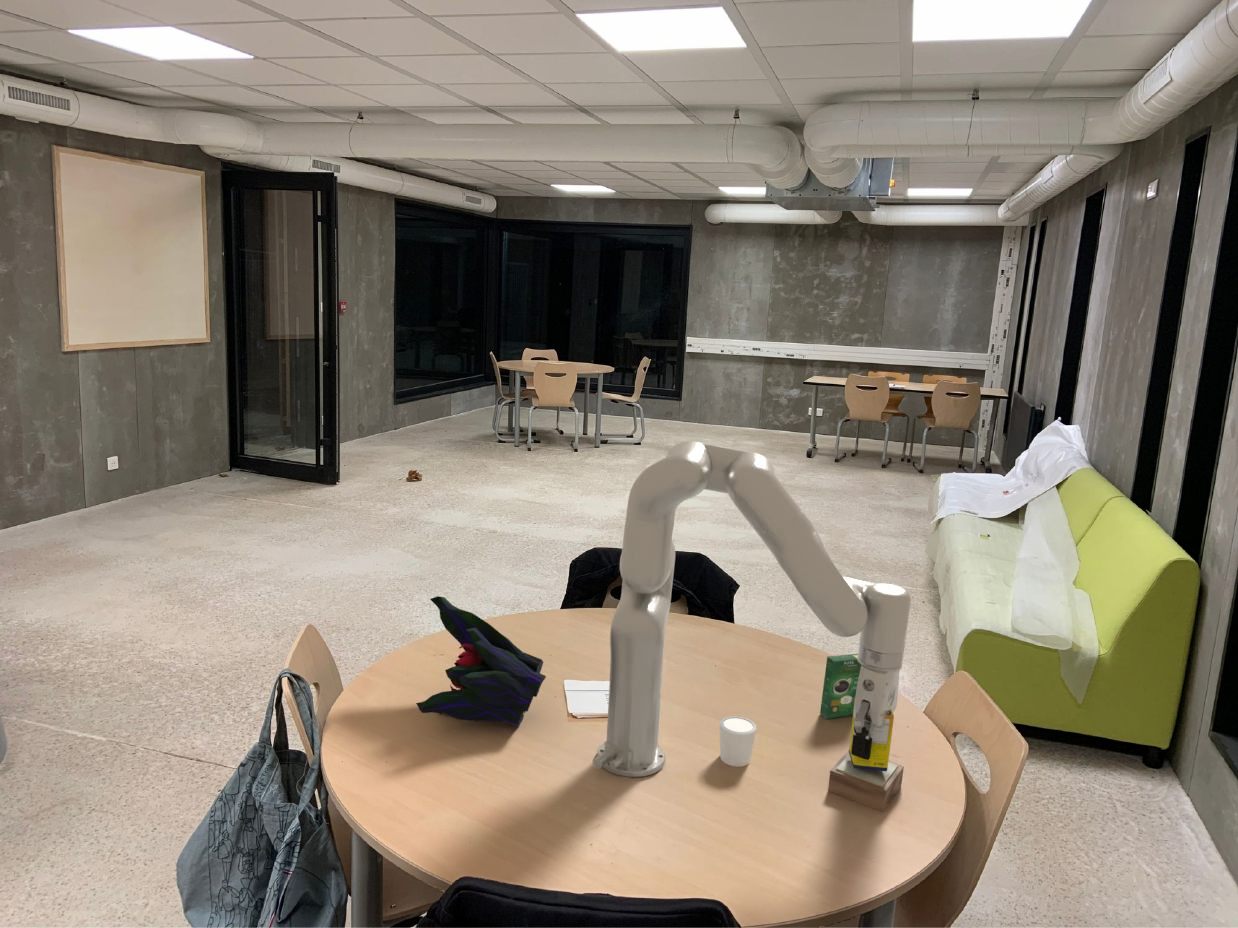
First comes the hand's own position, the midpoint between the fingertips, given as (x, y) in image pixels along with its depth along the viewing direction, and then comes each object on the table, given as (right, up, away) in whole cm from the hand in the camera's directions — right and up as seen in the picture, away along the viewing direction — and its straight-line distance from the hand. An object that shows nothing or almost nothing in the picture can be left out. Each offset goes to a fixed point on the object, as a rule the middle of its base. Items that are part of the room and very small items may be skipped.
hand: (868, 746), depth 157 cm
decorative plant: (-74, 0, +22) cm, 77 cm away
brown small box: (0, -8, +2) cm, 8 cm away
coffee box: (+2, -3, +29) cm, 29 cm away
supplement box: (0, -3, +1) cm, 3 cm away
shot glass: (-23, -6, +9) cm, 25 cm away
